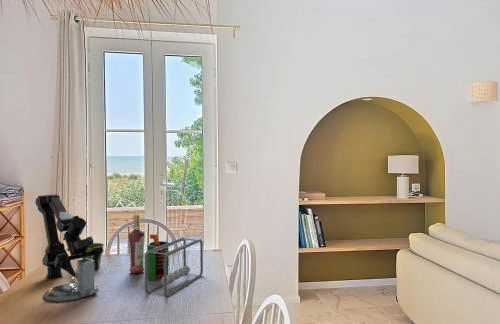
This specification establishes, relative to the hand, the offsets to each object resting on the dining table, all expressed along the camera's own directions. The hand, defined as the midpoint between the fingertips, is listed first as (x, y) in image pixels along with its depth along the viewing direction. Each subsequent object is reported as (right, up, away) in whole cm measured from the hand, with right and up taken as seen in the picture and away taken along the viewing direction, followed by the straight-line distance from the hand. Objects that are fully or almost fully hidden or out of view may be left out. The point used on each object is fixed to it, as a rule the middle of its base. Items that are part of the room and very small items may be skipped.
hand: (86, 273), depth 154 cm
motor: (+24, -8, +22) cm, 33 cm away
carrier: (-8, -9, +2) cm, 12 cm away
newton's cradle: (+34, -9, +12) cm, 37 cm away
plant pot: (-13, -8, +36) cm, 39 cm away
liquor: (+12, -8, +28) cm, 32 cm away
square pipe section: (0, -8, 0) cm, 8 cm away
